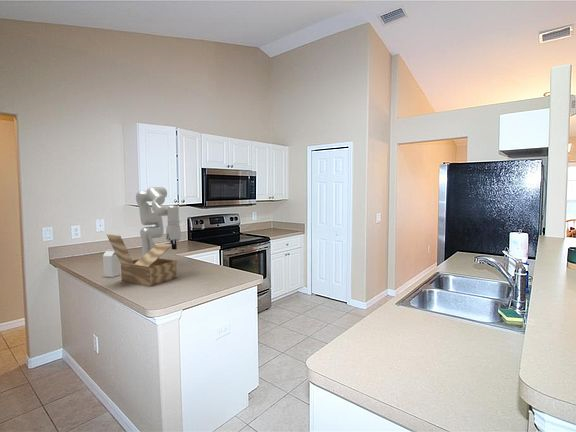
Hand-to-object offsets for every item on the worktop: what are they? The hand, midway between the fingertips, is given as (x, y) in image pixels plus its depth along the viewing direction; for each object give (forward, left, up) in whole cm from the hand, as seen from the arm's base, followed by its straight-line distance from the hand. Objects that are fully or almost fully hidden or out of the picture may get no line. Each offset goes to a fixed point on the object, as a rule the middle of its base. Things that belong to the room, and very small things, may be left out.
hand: (174, 249), depth 223 cm
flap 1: (+29, -16, +3) cm, 34 cm away
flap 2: (+15, -2, -1) cm, 16 cm away
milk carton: (+21, -40, -19) cm, 49 cm away
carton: (+14, -9, -19) cm, 25 cm away
